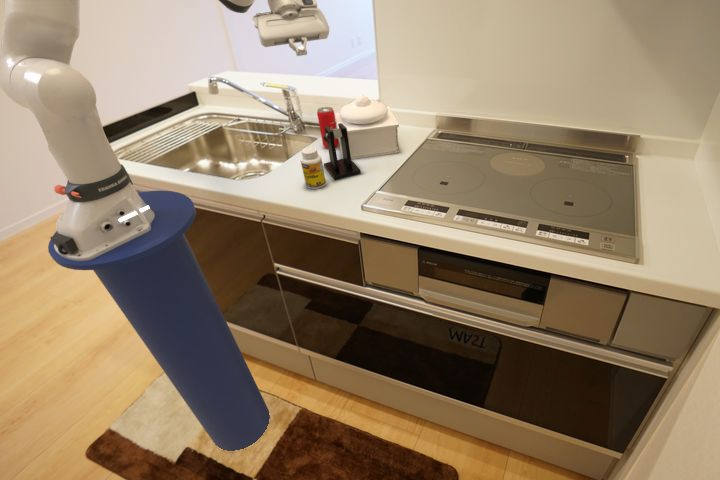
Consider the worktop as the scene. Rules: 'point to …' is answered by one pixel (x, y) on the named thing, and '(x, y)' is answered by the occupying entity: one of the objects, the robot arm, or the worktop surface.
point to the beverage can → (327, 123)
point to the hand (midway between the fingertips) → (302, 54)
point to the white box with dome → (368, 128)
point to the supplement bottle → (312, 168)
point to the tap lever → (335, 134)
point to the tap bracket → (341, 166)
